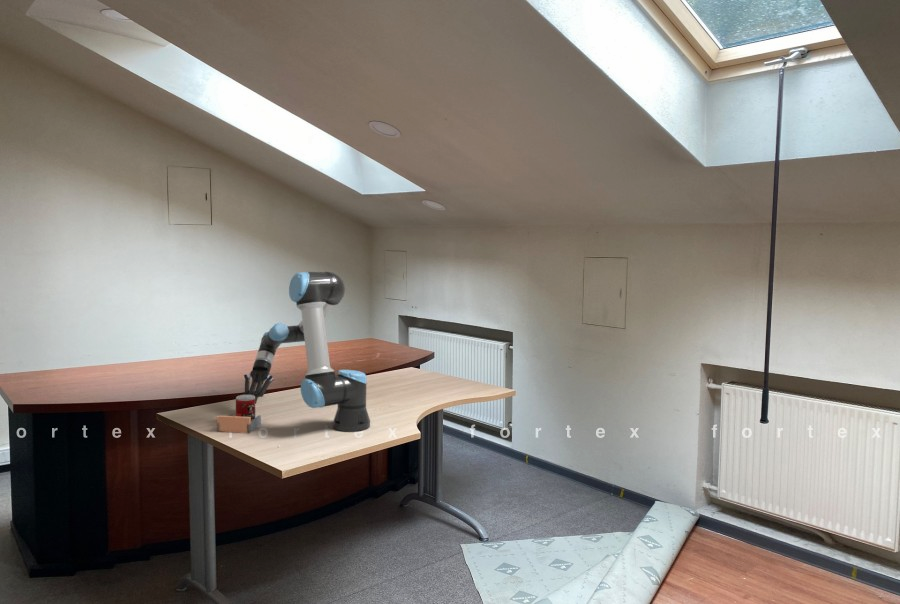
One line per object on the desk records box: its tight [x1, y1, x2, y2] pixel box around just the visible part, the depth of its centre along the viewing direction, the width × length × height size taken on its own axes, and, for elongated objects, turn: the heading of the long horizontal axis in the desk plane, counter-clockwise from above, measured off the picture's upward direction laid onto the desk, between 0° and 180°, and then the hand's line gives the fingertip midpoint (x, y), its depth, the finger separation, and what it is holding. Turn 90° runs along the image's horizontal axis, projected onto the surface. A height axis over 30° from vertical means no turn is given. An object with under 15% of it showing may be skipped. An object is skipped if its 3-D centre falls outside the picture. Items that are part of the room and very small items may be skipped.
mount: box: [216, 413, 262, 434], centre depth 249 cm, size 13×12×6 cm
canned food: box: [235, 394, 256, 421], centre depth 255 cm, size 8×8×11 cm
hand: (248, 410), depth 260 cm, fingers closed
